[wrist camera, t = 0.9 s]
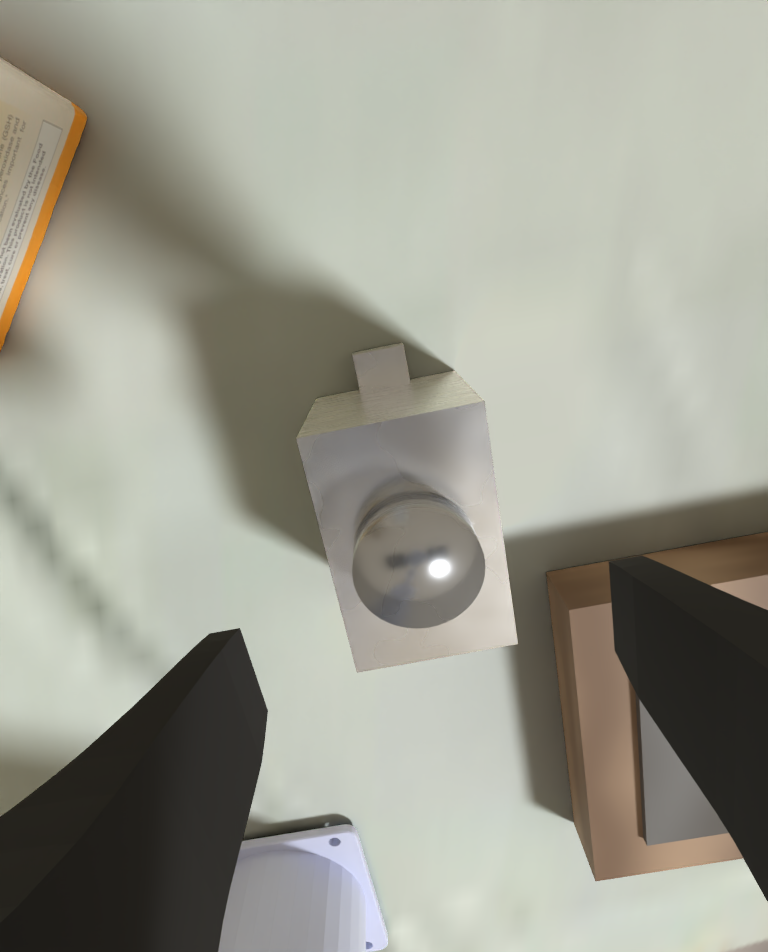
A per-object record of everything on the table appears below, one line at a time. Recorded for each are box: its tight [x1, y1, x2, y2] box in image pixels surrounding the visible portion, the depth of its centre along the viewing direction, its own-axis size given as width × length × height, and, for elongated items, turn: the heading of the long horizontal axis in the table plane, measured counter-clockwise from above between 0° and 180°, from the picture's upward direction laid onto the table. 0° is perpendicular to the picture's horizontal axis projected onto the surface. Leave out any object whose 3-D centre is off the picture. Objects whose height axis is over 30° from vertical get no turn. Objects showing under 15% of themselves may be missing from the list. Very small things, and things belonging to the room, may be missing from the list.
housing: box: [296, 343, 518, 672], centre depth 16 cm, size 5×9×6 cm, turn 11°
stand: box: [546, 532, 768, 881], centre depth 21 cm, size 13×13×3 cm
